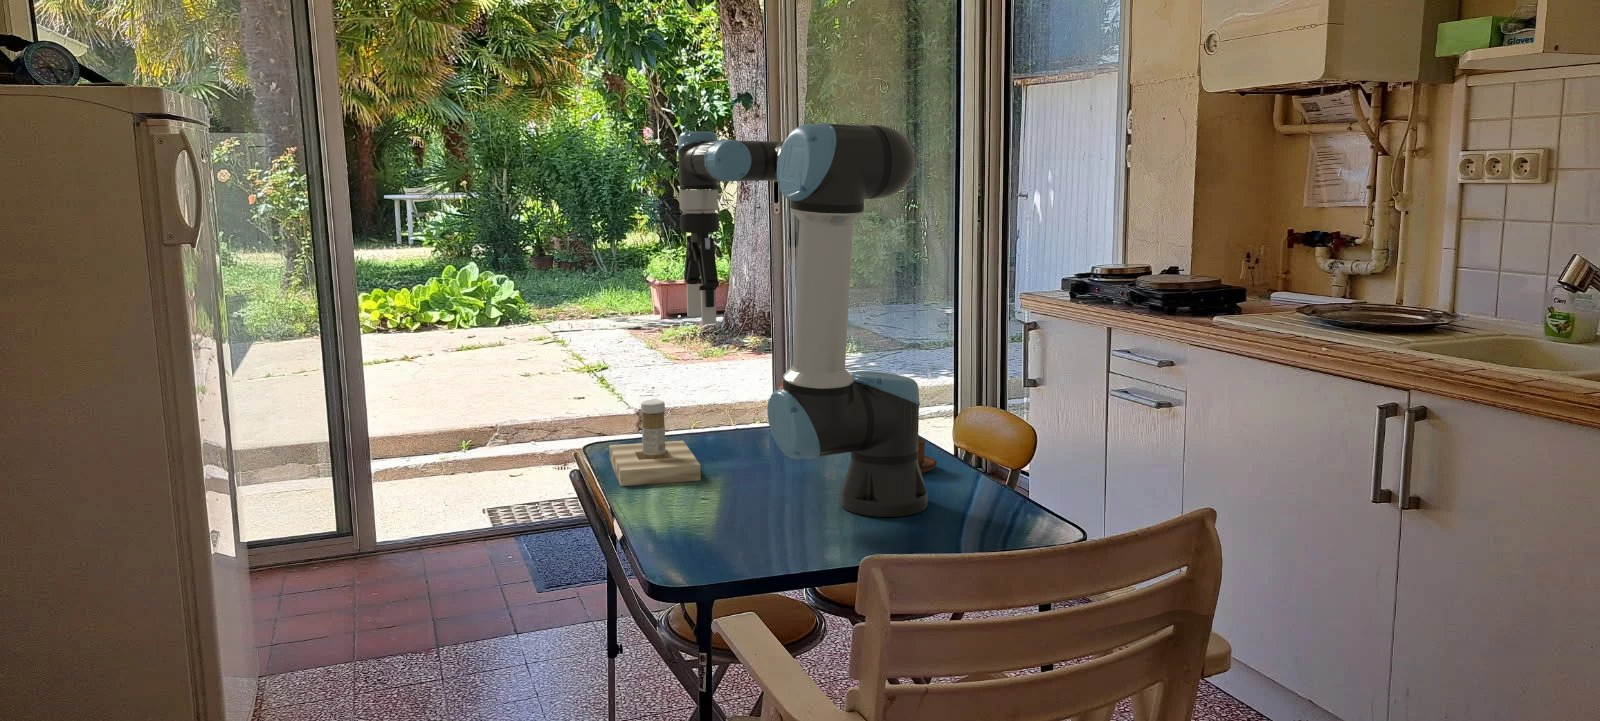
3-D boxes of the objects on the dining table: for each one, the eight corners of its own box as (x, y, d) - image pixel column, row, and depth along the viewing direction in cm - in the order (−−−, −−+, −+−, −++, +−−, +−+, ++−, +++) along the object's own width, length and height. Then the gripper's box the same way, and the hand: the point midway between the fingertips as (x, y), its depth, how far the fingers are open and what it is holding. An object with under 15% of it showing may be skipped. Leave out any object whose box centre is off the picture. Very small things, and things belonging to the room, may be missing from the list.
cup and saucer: (933, 480, 209) (934, 449, 208) (870, 477, 211) (870, 446, 210) (938, 464, 220) (939, 434, 219) (878, 461, 223) (879, 431, 222)
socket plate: (700, 480, 209) (700, 464, 208) (620, 486, 205) (620, 470, 204) (683, 454, 228) (683, 440, 227) (609, 459, 224) (609, 445, 223)
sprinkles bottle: (656, 464, 219) (654, 398, 217) (670, 469, 216) (669, 401, 214) (637, 469, 216) (636, 401, 213) (652, 473, 213) (650, 404, 210)
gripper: (733, 213, 206) (735, 326, 209) (704, 210, 230) (706, 312, 233) (693, 213, 204) (696, 328, 207) (668, 211, 227) (670, 313, 231)
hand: (701, 320), depth 220 cm, fingers open, 13 cm apart
